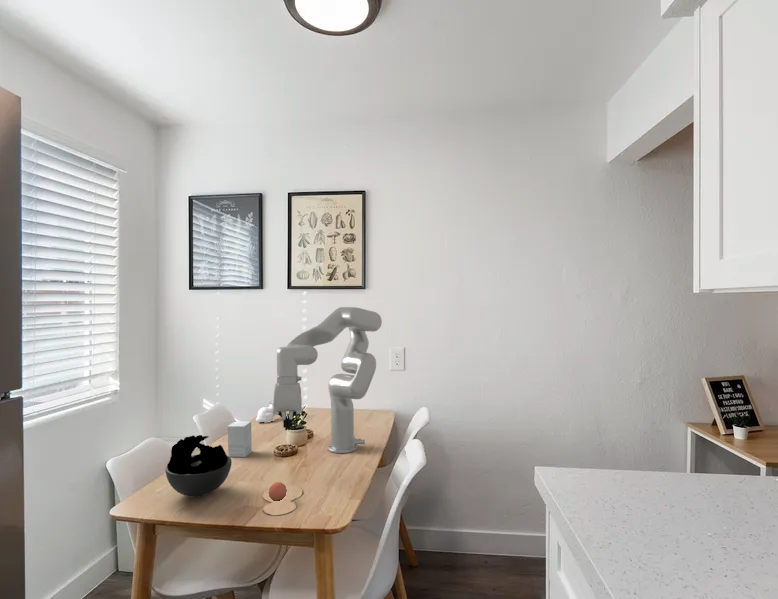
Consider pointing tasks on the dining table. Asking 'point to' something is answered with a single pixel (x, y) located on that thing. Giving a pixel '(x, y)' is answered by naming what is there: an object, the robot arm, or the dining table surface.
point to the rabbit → (266, 413)
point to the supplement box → (239, 439)
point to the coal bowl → (197, 467)
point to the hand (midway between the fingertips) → (287, 429)
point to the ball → (277, 491)
